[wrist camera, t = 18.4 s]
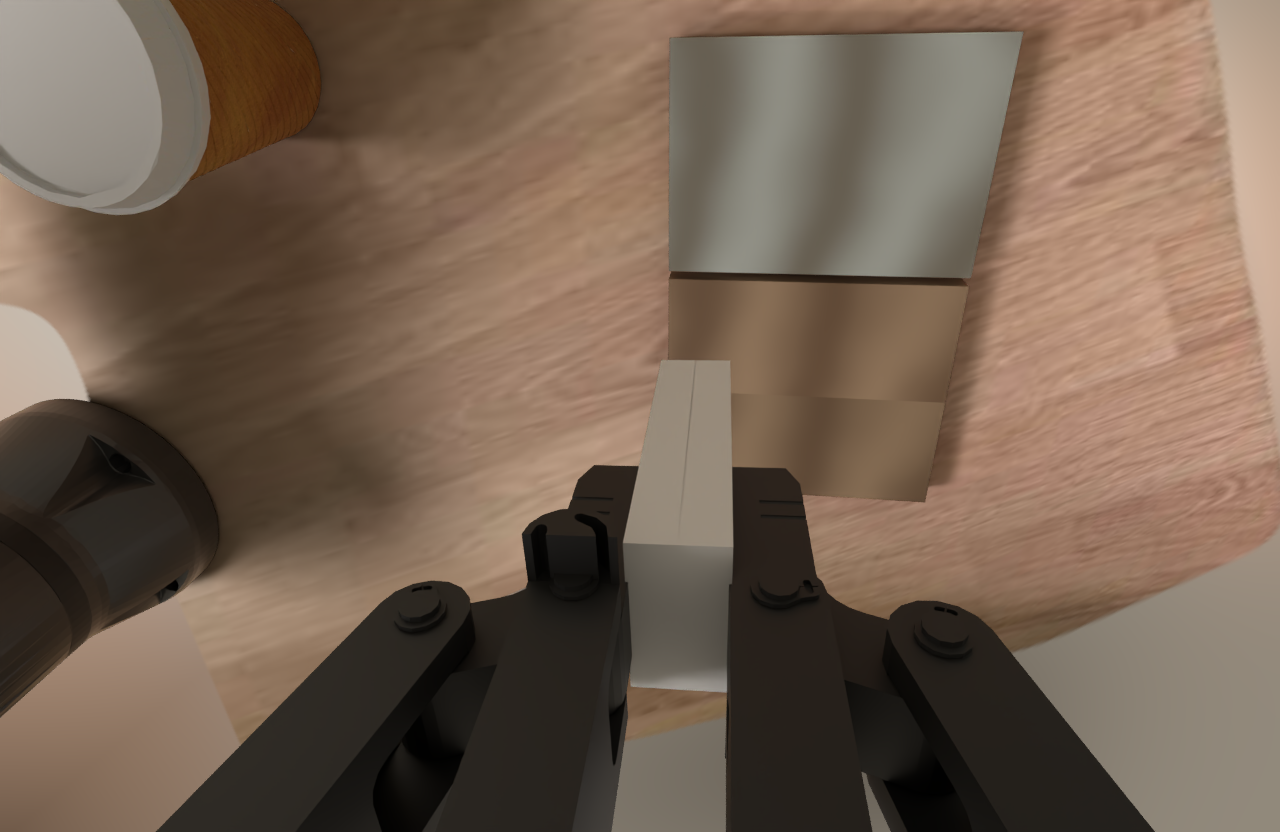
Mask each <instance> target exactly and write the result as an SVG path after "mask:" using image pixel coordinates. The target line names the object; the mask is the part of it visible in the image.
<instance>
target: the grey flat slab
mask: <svg viewBox="0 0 1280 832" xmlns="http://www.w3.org/2000/svg"><path fill="white" fill-rule="evenodd" d="M1022 36H1023V32H961V33H905V34H848V35H792V36H735V37H679V38H670V75H669V271H687V272H729V273H771V274H813V275H855V276H897V277H938V278H971V275H972V271H973V266H974V261H975V257H976V252H977V247H978V243H979V238H980V233H981V229H982V224H983V219H984V214H985V210H986V205H987V200H988V196H989V191H990V186H991V182H992V177H993V172H994V168H995V163H996V158H997V154H998V149H999V144H1000V140H1001V135H1002V130H1003V125H1004V121H1005V116H1006V111H1007V107H1008V102H1009V97H1010V93H1011V88H1012V83H1013V79H1014V74H1015V69H1016V65H1017V60H1018V55H1019V50H1020V46H1021V41H1022Z"/></svg>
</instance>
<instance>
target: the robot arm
mask: <svg viewBox="0 0 1280 832" xmlns="http://www.w3.org/2000/svg"><path fill="white" fill-rule="evenodd" d="M522 539H523V547H524V554H525V561H526V569H527V576H528V583H527V586H526V588H525V589H523V590H521V591H519V592H517V593H515V594H512V595H508V596H505V597H501V598H496V599H491V600H486V601H480V602H475V603H470V598H469V596H468V595H467V594H466V592H465V591H464V590H463V589H462V588H461V587H459V586H457V585H454V584H452V583H450V582H442V581H427V582H422V583H416V584H412V585H410V586H407V587H405V588H403V589H400V590H398V591H396V592H394V593H393V594H392V595H390V596H389V597H388V598H386V599H385V600H384V601H382V602H381V603H380V604H379V605H378V606H377V607H376V608H375V609H374V610H373V611H372V612H371V613H370V614H369V615H368V616H367V617H366V618H365V619H364V620H363V621H362V622H361V624H360V625H359V626H358V627H357V628H356V629H355V630H354V631H353V632H352V633H351V634H350V635H349V636H348V637H347V638H346V639H345V640H344V641H343V642H342V643H341V644H340V645H339V646H338V647H337V648H336V649H335V650H334V651H333V652H332V653H331V654H330V655H329V656H328V657H327V658H326V659H325V660H324V661H323V662H322V663H321V664H320V665H319V666H318V667H317V668H316V669H315V670H314V671H313V672H312V673H311V674H310V675H309V676H308V677H307V678H306V679H305V681H304V682H303V683H302V684H301V685H300V686H299V687H298V688H297V689H296V690H295V691H294V692H293V693H292V694H291V695H290V696H289V697H288V698H287V699H286V700H285V701H284V702H283V703H282V704H281V705H280V706H279V707H278V708H277V709H276V710H275V711H274V712H273V713H272V714H271V715H270V716H269V717H268V718H267V719H266V720H265V721H264V722H263V723H262V724H261V725H260V726H259V727H258V728H257V729H256V730H255V731H254V732H253V733H252V734H251V735H250V736H249V737H248V739H247V740H246V741H245V742H244V743H243V744H242V745H241V746H240V747H239V748H238V749H237V750H236V751H235V752H234V753H233V754H232V755H231V756H230V757H229V758H228V759H227V760H226V761H225V762H224V763H223V764H222V765H221V766H220V767H219V768H218V769H217V770H216V771H215V772H214V773H213V774H212V775H211V776H210V777H209V778H208V779H207V780H206V781H205V782H204V783H203V784H202V785H201V786H200V787H199V788H198V789H197V790H196V791H195V792H194V793H193V794H192V796H191V797H190V798H189V799H188V800H187V801H186V802H185V803H184V804H183V805H182V806H181V807H180V808H179V809H178V810H177V811H176V812H175V813H174V814H173V815H172V816H171V817H170V818H169V819H168V820H167V821H166V822H165V823H164V824H163V825H162V826H161V827H160V828H159V829H158V830H157V831H156V832H611V830H612V823H613V815H614V809H615V802H616V796H617V789H618V782H619V774H620V768H621V761H622V753H623V747H624V740H625V733H626V726H627V719H628V710H627V694H626V692H627V685H628V679H629V672H630V680H631V687H646V688H663V689H679V690H696V691H712V692H727V711H726V747H725V758H726V832H872V827H871V821H870V816H869V811H868V806H867V800H866V795H865V789H864V784H863V779H862V773H861V772H864V773H866V774H867V779H868V782H869V785H870V787H871V789H872V792H873V794H874V795H875V798H876V800H877V802H878V804H879V807H880V809H881V811H882V813H883V815H884V818H885V820H886V822H887V824H888V826H889V828H890V831H891V832H1155V831H1154V830H1153V829H1152V828H1151V826H1150V825H1149V824H1148V823H1147V821H1146V820H1145V819H1144V818H1143V816H1142V815H1141V814H1140V813H1139V811H1138V810H1137V809H1136V808H1135V806H1134V805H1133V804H1132V803H1131V802H1130V800H1129V799H1128V798H1127V797H1126V795H1125V794H1124V793H1123V792H1122V790H1121V789H1120V788H1119V787H1118V785H1117V784H1116V783H1115V782H1114V780H1113V779H1112V778H1111V777H1110V775H1109V774H1108V773H1107V772H1106V770H1105V769H1104V768H1103V767H1102V765H1101V764H1100V763H1099V762H1098V761H1097V759H1096V758H1095V757H1094V755H1093V754H1092V753H1091V752H1090V751H1089V749H1088V748H1087V747H1086V746H1085V744H1084V743H1083V742H1082V741H1081V740H1080V738H1079V737H1078V736H1077V735H1076V733H1075V732H1074V731H1073V729H1072V728H1071V727H1070V726H1069V724H1068V723H1067V722H1066V721H1065V719H1064V718H1063V717H1062V716H1061V714H1060V713H1059V712H1058V711H1057V710H1056V708H1055V707H1054V706H1053V705H1052V703H1051V702H1050V701H1049V700H1048V698H1047V697H1046V696H1045V695H1044V693H1043V692H1042V691H1041V690H1040V688H1039V687H1038V686H1037V685H1036V683H1035V682H1034V681H1033V680H1032V678H1031V677H1030V676H1029V675H1028V673H1027V672H1026V671H1025V670H1024V668H1023V667H1022V666H1021V665H1020V664H1019V662H1018V661H1017V660H1016V659H1015V657H1014V656H1013V655H1012V654H1011V652H1010V651H1009V650H1008V649H1007V647H1006V646H1005V645H1004V644H1003V642H1002V641H1001V640H1000V639H999V637H998V636H997V635H996V634H995V632H994V631H993V630H992V629H991V628H990V627H989V626H988V625H986V624H985V623H984V622H983V621H982V620H981V619H980V618H979V617H977V616H976V615H974V614H972V613H970V612H968V611H966V610H964V609H962V608H960V607H958V606H954V605H951V604H947V603H943V602H939V601H915V602H911V603H908V604H905V605H901V606H900V607H899V608H898V609H897V610H895V611H894V612H893V613H892V614H891V615H890V619H889V620H887V619H884V618H880V617H876V616H873V615H869V614H866V613H863V612H860V611H857V610H854V609H852V608H849V607H847V606H845V605H844V604H842V603H840V602H838V601H836V600H835V599H834V598H833V597H832V596H830V595H829V594H828V593H827V591H826V589H825V587H824V585H823V583H822V581H821V580H820V579H818V578H817V575H816V571H815V566H814V560H813V554H812V549H811V543H810V537H809V531H808V526H807V520H806V514H805V509H804V505H803V497H802V492H801V486H800V483H799V482H798V481H797V480H796V479H795V478H794V477H793V476H792V474H791V473H790V472H789V471H788V470H787V469H786V468H759V467H732V438H731V377H730V361H724V360H661V364H660V369H659V374H658V378H657V383H656V388H655V393H654V397H653V402H652V407H651V412H650V416H649V421H648V426H647V431H646V435H645V440H644V445H643V450H642V454H641V459H640V464H639V466H605V465H594V466H593V467H592V468H591V469H589V470H588V471H587V472H586V473H585V474H584V475H583V476H582V477H581V478H579V479H578V482H577V485H576V487H575V490H574V493H573V496H572V500H571V502H570V505H569V508H568V509H561V510H557V511H554V512H551V513H547V514H544V515H542V516H541V517H539V518H537V519H536V520H534V521H533V522H531V523H530V524H529V525H528V526H527V528H526V529H525V530H524V532H523V533H522ZM217 544H218V523H217V517H216V513H215V510H214V507H213V504H212V501H211V499H210V497H209V495H208V493H207V491H206V489H205V487H204V485H203V484H202V482H201V480H200V479H199V477H198V476H197V474H196V473H195V472H194V470H193V469H192V468H191V467H190V465H189V464H188V463H187V462H186V461H185V459H184V458H183V457H182V456H181V455H180V454H179V453H178V452H177V451H176V450H175V449H174V448H173V447H172V446H171V445H170V444H168V443H167V442H166V441H165V440H164V439H162V438H161V437H160V436H159V435H157V434H156V433H155V432H153V431H152V430H150V429H149V428H147V427H146V426H144V425H143V424H141V423H140V422H138V421H136V420H134V419H133V418H131V417H129V416H127V415H125V414H123V413H121V412H118V411H116V410H113V409H111V408H108V407H105V406H102V405H99V404H96V403H92V402H87V401H82V400H74V399H54V400H48V401H43V402H39V403H37V404H34V405H32V406H30V407H28V408H26V409H24V410H22V411H20V412H18V413H15V414H14V415H11V416H10V417H7V418H5V419H3V420H2V421H0V718H1V717H2V716H3V715H4V714H5V713H6V712H7V711H8V710H9V709H11V708H12V707H13V706H14V705H15V704H16V703H17V702H18V701H19V700H21V699H22V698H23V697H24V696H25V695H26V694H27V693H28V692H29V691H31V689H33V688H34V687H35V686H36V685H37V684H38V683H39V682H40V681H41V680H43V679H44V678H45V677H46V676H47V675H48V674H49V673H50V672H51V671H52V670H54V669H55V668H56V667H57V666H58V665H59V664H60V663H62V662H63V661H64V660H65V659H66V658H67V657H68V656H69V655H70V654H71V653H72V652H74V651H75V650H76V649H77V648H78V647H79V646H80V645H81V644H83V643H84V642H85V641H86V640H88V639H89V638H91V637H92V636H94V635H96V634H98V633H100V632H102V631H104V630H106V629H108V628H110V627H113V626H115V625H116V624H119V623H121V622H123V621H125V620H127V619H129V618H131V617H133V616H135V615H137V614H139V613H141V612H144V611H145V610H148V609H150V608H152V607H154V606H156V605H158V604H160V603H162V602H164V601H166V600H168V599H170V598H172V597H174V596H175V595H177V594H178V593H180V592H181V591H182V590H184V589H185V588H186V587H187V586H188V585H189V584H190V583H191V582H192V581H193V580H194V579H195V578H196V577H197V576H199V575H200V574H201V573H202V572H203V571H204V570H205V569H206V568H207V566H208V565H209V564H210V562H211V561H212V559H213V557H214V555H215V552H216V548H217Z"/></svg>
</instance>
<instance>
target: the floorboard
mask: <svg viewBox="0 0 1280 832" xmlns="http://www.w3.org/2000/svg"><path fill="white" fill-rule="evenodd" d="M968 290H969V286H968V285H967V284H966V283H965V282H964V281H963V280H962V279H961V278H931V277H889V276H847V275H805V274H763V273H721V272H679V271H671V274H670V277H669V333H668V360H724V361H730V377H731V438H732V467H759V468H786V469H787V470H788V471H789V472H790V473H791V474H792V476H793V477H794V478H795V479H796V480H797V481H798V482H799V483H800V486H801V492H802V495H816V496H832V497H848V498H864V499H880V500H896V501H912V502H925V499H926V495H927V490H928V485H929V480H930V475H931V470H932V465H933V460H934V456H935V451H936V446H937V441H938V436H939V431H940V426H941V421H942V417H943V412H944V407H945V402H946V397H947V392H948V387H949V382H950V378H951V373H952V368H953V363H954V358H955V353H956V348H957V344H958V339H959V334H960V329H961V324H962V319H963V314H964V309H965V305H966V300H967V295H968Z"/></svg>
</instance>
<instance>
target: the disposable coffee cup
mask: <svg viewBox="0 0 1280 832" xmlns="http://www.w3.org/2000/svg"><path fill="white" fill-rule="evenodd" d="M320 91H321V79H320V70H319V66H318V62H317V58H316V55H315V52H314V50H313V48H312V46H311V43H310V41H309V39H308V38H307V36H306V35H305V33H304V31H303V30H302V28H301V27H300V26H299V25H298V23H297V22H296V21H295V20H294V19H293V18H292V16H290V15H289V14H288V13H287V12H286V11H284V10H283V9H282V8H281V7H279V6H278V5H277V4H275V3H273V2H271V1H269V0H0V173H1V174H3V175H4V176H5V177H7V178H8V179H9V180H10V181H12V182H13V183H15V184H16V185H18V186H20V187H22V188H23V189H25V190H27V191H29V192H30V193H32V194H34V195H36V196H38V197H41V198H43V199H45V200H48V201H51V202H54V203H58V204H62V205H66V206H70V207H80V208H83V209H86V210H89V211H92V212H95V213H104V214H112V215H128V214H136V213H140V212H144V211H148V210H152V209H154V208H156V207H159V206H160V205H162V204H163V203H165V202H166V201H168V200H169V199H171V198H172V197H174V196H175V195H177V194H178V192H179V191H180V190H181V189H182V188H183V187H184V186H185V184H186V183H187V182H188V181H189V180H193V179H195V178H197V177H199V176H202V175H204V174H206V173H208V172H210V171H213V170H216V169H217V168H220V167H222V166H224V165H226V164H228V163H231V162H233V161H236V160H238V159H240V158H242V157H245V156H247V155H249V154H251V153H254V152H256V151H257V150H260V149H262V148H264V147H267V146H269V145H271V144H274V143H276V142H278V141H281V140H283V139H285V138H287V137H290V136H293V135H295V134H296V133H298V132H299V131H300V130H302V129H303V128H305V127H306V125H307V124H308V123H309V122H310V121H311V119H312V117H313V115H314V113H315V111H316V109H317V107H318V102H319V98H320Z"/></svg>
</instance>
